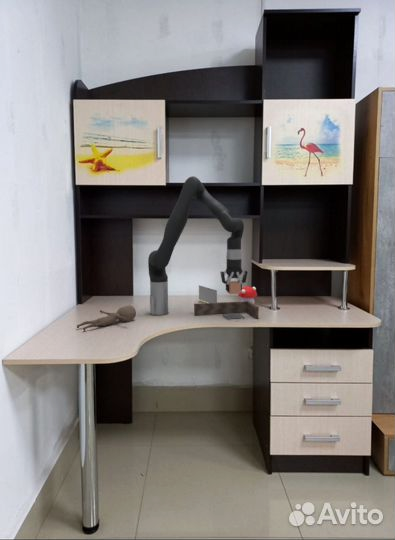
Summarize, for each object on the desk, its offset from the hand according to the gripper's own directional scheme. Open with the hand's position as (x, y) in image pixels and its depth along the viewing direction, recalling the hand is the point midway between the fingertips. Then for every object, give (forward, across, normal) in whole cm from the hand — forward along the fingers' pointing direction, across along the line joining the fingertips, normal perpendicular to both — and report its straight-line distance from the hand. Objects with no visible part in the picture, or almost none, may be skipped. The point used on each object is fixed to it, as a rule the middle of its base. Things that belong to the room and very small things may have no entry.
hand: (233, 291), depth 213 cm
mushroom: (+13, +14, +20) cm, 28 cm away
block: (+1, 0, 0) cm, 1 cm away
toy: (+13, -62, -1) cm, 64 cm away
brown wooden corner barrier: (+13, -4, +1) cm, 14 cm away
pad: (+13, 0, 0) cm, 13 cm away
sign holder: (+14, -6, +32) cm, 35 cm away
